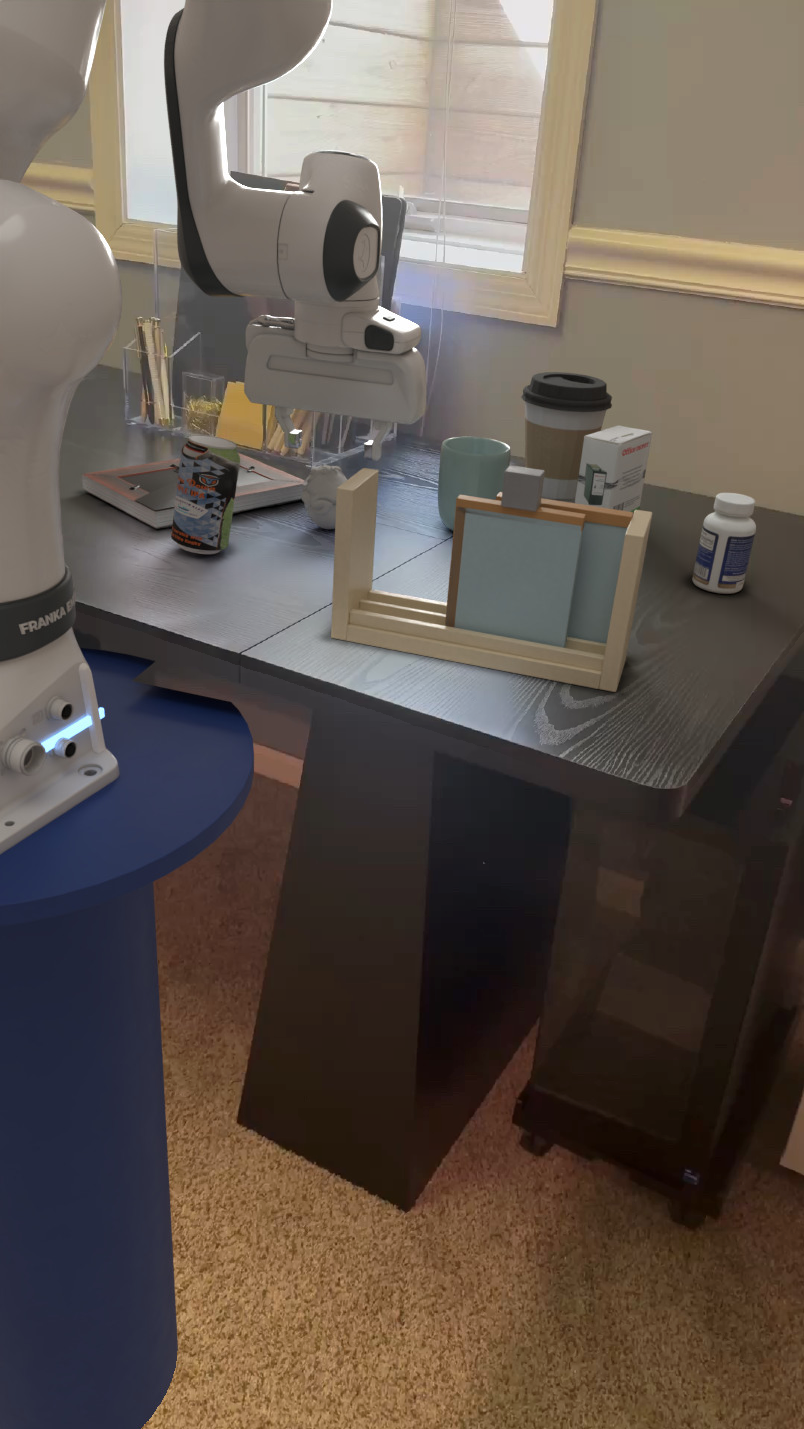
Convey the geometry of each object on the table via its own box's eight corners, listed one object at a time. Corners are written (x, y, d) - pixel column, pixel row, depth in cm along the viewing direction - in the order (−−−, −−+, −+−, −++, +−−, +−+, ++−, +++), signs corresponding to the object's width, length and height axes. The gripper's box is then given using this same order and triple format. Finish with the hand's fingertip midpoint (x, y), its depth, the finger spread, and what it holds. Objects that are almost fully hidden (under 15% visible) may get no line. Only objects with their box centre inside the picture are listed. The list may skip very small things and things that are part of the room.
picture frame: (156, 531, 121) (309, 500, 134) (155, 510, 119) (310, 480, 133) (82, 492, 131) (232, 467, 144) (81, 472, 130) (231, 448, 143)
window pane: (561, 658, 95) (588, 483, 87) (442, 636, 97) (458, 464, 90) (565, 650, 96) (592, 477, 89) (448, 628, 99) (464, 458, 91)
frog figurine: (339, 515, 130) (341, 457, 126) (364, 534, 124) (367, 474, 121) (291, 520, 127) (292, 461, 124) (315, 539, 122) (317, 478, 118)
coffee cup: (613, 499, 143) (632, 383, 136) (566, 517, 135) (584, 394, 128) (541, 479, 149) (556, 366, 142) (492, 494, 141) (505, 376, 134)
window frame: (615, 692, 93) (644, 534, 86) (330, 638, 99) (336, 485, 92) (625, 660, 99) (653, 509, 92) (356, 610, 105) (363, 465, 98)
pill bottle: (745, 583, 119) (765, 496, 114) (737, 599, 114) (758, 509, 110) (696, 572, 120) (714, 487, 116) (686, 588, 116) (704, 499, 111)
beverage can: (161, 546, 117) (156, 434, 111) (219, 535, 121) (218, 427, 115) (191, 564, 113) (188, 449, 107) (251, 552, 117) (251, 441, 111)
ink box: (602, 517, 136) (618, 422, 130) (638, 527, 133) (655, 430, 128) (568, 532, 130) (582, 433, 124) (604, 543, 127) (621, 442, 122)
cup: (474, 545, 123) (483, 458, 119) (421, 527, 128) (428, 443, 123) (513, 531, 129) (524, 447, 124) (462, 514, 133) (470, 432, 128)
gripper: (233, 316, 115) (235, 446, 122) (418, 339, 110) (410, 473, 117) (257, 308, 120) (258, 433, 127) (435, 329, 115) (426, 458, 122)
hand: (332, 452), depth 122 cm, fingers open, 8 cm apart
